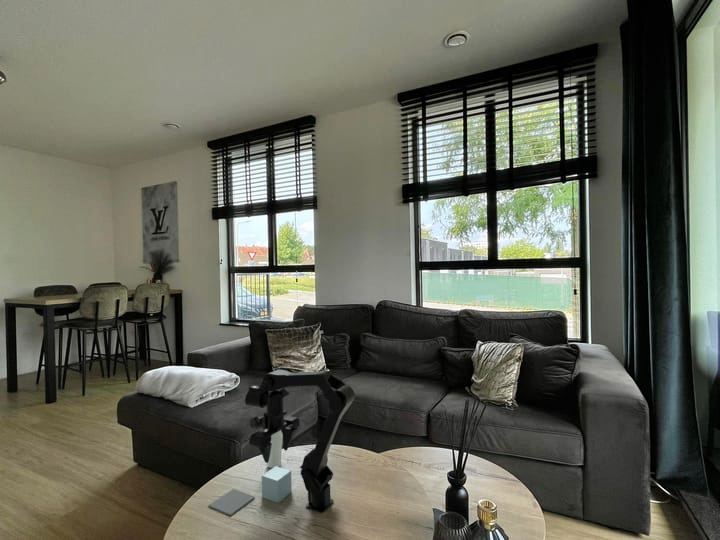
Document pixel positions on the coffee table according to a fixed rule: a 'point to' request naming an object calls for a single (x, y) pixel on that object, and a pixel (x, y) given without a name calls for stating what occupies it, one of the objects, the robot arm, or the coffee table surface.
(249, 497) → the gray square plate
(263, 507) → the coffee table surface
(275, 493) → the pale blue cube
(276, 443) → the white tall cylinder
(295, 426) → the robot arm
